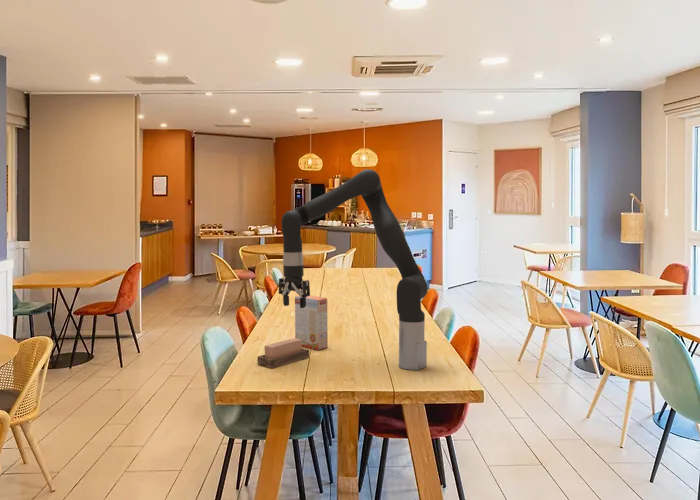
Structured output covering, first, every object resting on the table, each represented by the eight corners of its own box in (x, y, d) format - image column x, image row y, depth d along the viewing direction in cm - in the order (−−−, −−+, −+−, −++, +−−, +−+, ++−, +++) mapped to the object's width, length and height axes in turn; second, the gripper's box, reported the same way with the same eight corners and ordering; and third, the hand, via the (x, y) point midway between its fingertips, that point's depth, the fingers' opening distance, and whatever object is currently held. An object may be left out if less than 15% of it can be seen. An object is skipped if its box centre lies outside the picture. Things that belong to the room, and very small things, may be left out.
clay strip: (294, 353, 226) (294, 338, 226) (301, 355, 224) (301, 339, 223) (265, 361, 215) (264, 345, 214) (272, 363, 212) (272, 347, 212)
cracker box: (328, 348, 238) (328, 297, 236) (317, 350, 233) (317, 299, 231) (305, 342, 247) (304, 293, 245) (294, 344, 243) (294, 295, 241)
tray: (309, 357, 224) (309, 349, 223) (272, 368, 209) (272, 360, 209) (294, 353, 229) (294, 346, 229) (257, 364, 215) (257, 356, 214)
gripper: (314, 264, 216) (315, 307, 217) (287, 262, 225) (288, 303, 226) (299, 266, 210) (301, 310, 211) (272, 263, 219) (274, 306, 220)
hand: (294, 306), depth 219 cm, fingers open, 8 cm apart
